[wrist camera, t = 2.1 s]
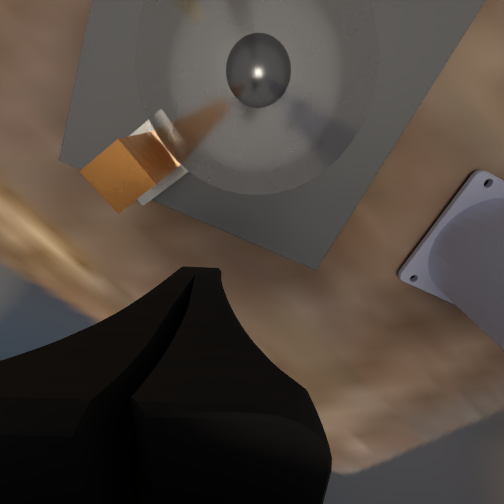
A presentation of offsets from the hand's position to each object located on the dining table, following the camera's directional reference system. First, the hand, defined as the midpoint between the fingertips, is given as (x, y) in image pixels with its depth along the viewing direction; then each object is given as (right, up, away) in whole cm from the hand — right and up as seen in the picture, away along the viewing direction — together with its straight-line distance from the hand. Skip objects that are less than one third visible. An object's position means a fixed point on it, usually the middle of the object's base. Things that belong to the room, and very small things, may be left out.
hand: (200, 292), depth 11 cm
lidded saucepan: (+1, +9, +5) cm, 10 cm away
